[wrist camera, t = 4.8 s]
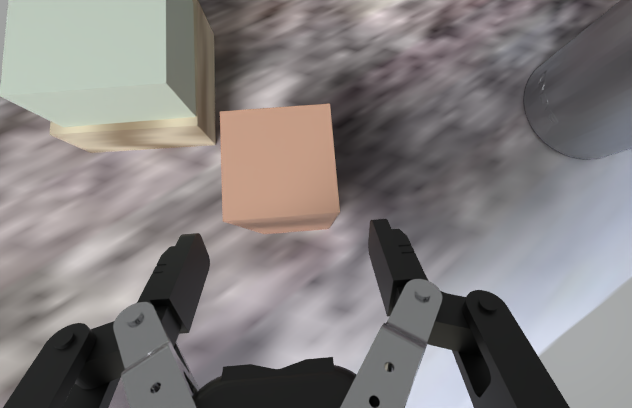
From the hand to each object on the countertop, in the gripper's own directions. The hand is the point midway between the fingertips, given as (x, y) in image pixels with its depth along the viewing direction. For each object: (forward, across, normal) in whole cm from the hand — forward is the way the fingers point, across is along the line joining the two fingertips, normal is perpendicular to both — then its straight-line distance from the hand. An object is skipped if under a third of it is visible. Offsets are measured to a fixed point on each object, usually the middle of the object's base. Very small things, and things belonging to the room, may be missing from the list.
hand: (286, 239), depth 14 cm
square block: (+8, 0, +4) cm, 9 cm away
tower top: (+13, +11, -6) cm, 18 cm away
